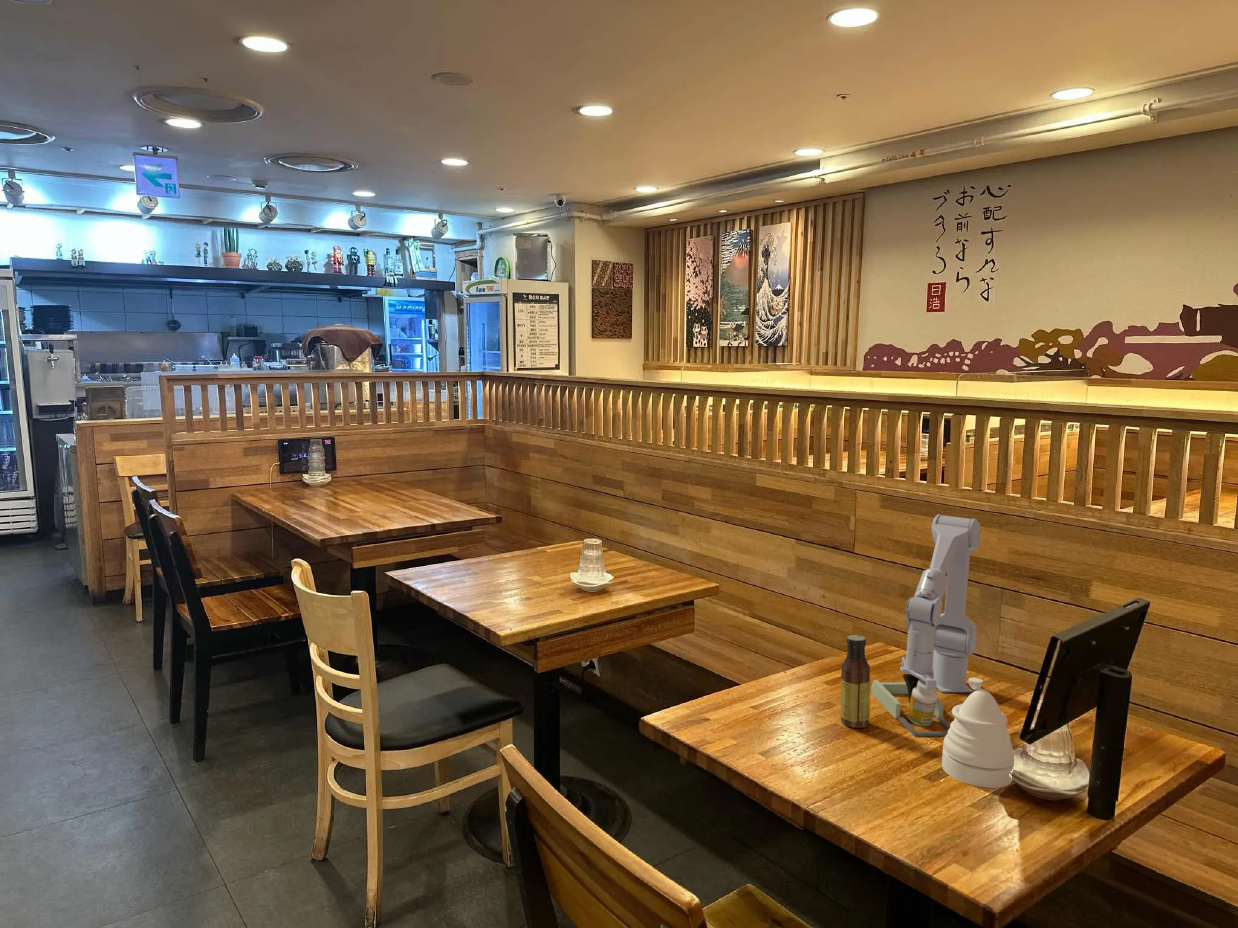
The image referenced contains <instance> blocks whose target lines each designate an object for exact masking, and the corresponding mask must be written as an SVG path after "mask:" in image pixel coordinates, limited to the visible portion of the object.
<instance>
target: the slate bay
mask: <svg viewBox="0 0 1238 928" xmlns="http://www.w3.org/2000/svg"><path fill="white" fill-rule="evenodd" d="M897 720H898V721H899V722H900V723H901V724H902V725H903V726H904V727H905V728H906V729H907V730H908V732H910V734H911V735H912V736H913V737H945V736H946V735H947V734H948V730H949V728H950V725H951V723H949V722H948V720H946V719H945V718H944V716H943V717H936V720H937V721H938V722H939V723H940V724H942V726H944V727H945V729H946V730H945V731H942V730H941V731H939V730H938V731H935V730H934V731H933V730H932V731H917V730H916V729H915V728H914V727H913V726H912V724H910V722H909V721H907V719H906V718H905V717H904V716H900V717H899V719H897Z"/></svg>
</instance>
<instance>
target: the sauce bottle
mask: <svg viewBox="0 0 1238 928" xmlns="http://www.w3.org/2000/svg"><path fill="white" fill-rule="evenodd" d="M846 644H847V650H846V651H847V652H846V658H845V659H844V661H843V663H842V665H841V674H840V675H841V676H840V679H841V680H840V722H842V724H843V725H845V726H846V727H849V728H854V729H863V728H867V727H868V726H869V723H870V716H871V714H870V712H871V711H870V710H871V677H870V676H871V668H870V667H871V666H870V664H869V662H868V660H867V658H866V654H865V653H866V651H865V650H866V645H867V638H866V637H865V636H863V635H859V634H850V635H847V636H846Z"/></svg>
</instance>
